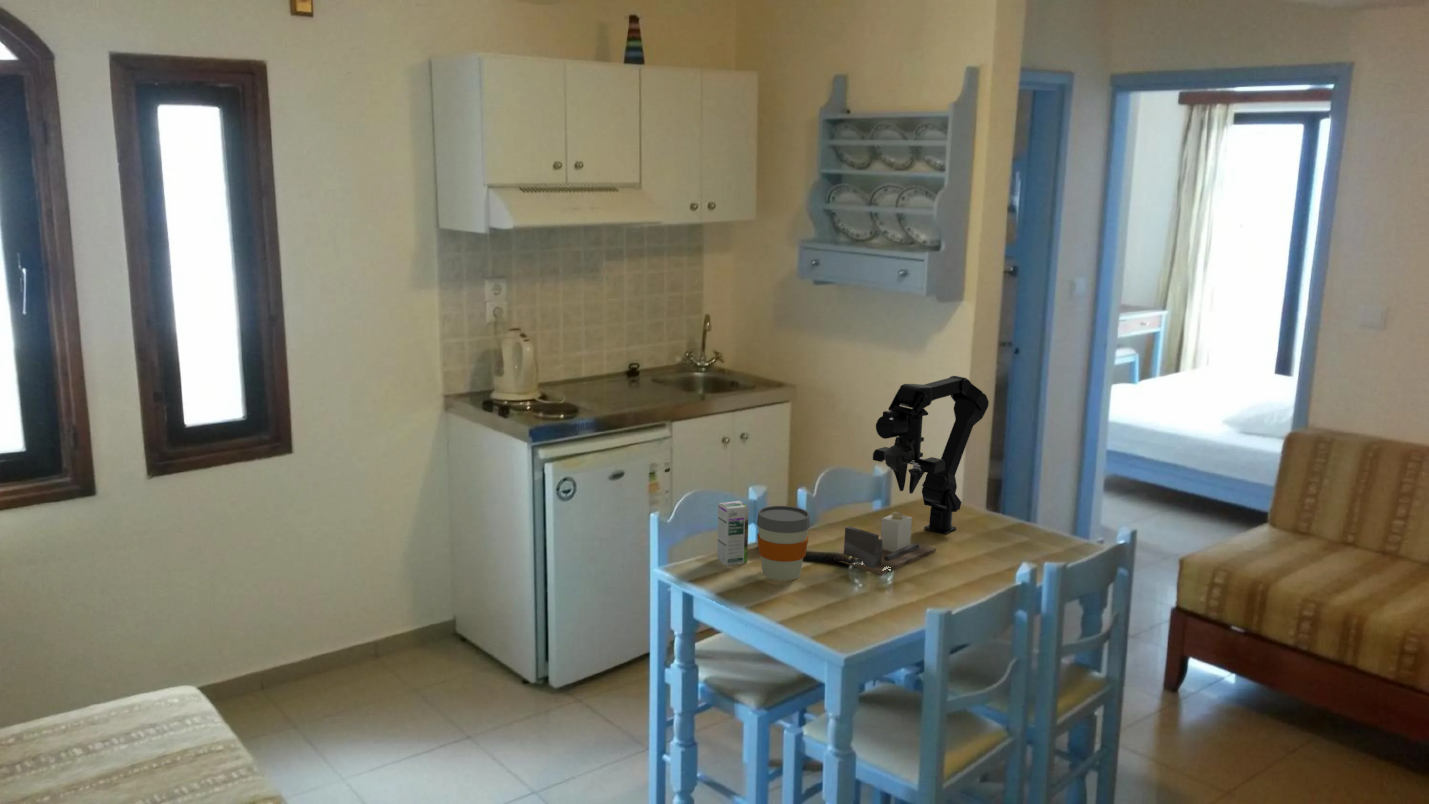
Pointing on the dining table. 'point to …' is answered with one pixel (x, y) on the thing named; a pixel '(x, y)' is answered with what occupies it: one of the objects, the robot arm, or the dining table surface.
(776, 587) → the dining table surface
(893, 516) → the white block with knob
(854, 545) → the brown board with frame
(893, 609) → the dining table surface
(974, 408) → the robot arm
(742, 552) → the syrup box
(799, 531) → the reusable coffee cup
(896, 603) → the dining table surface
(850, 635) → the dining table surface
